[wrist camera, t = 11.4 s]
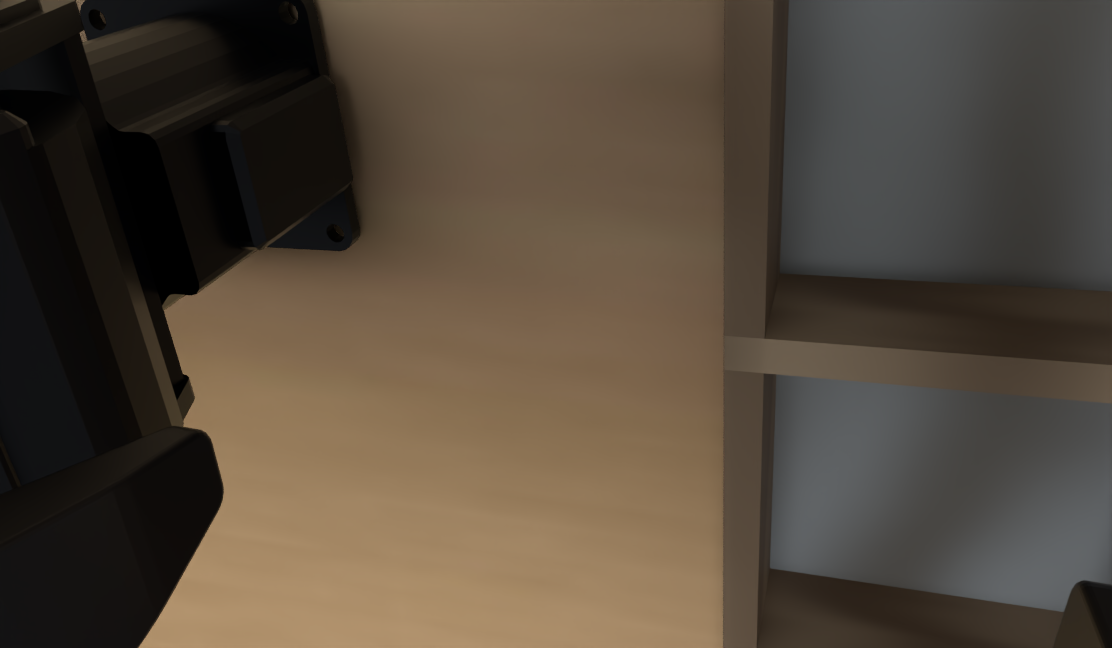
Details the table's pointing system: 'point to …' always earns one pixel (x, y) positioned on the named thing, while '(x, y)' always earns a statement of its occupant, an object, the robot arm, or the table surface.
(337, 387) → the table surface
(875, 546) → the rack
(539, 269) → the table surface
